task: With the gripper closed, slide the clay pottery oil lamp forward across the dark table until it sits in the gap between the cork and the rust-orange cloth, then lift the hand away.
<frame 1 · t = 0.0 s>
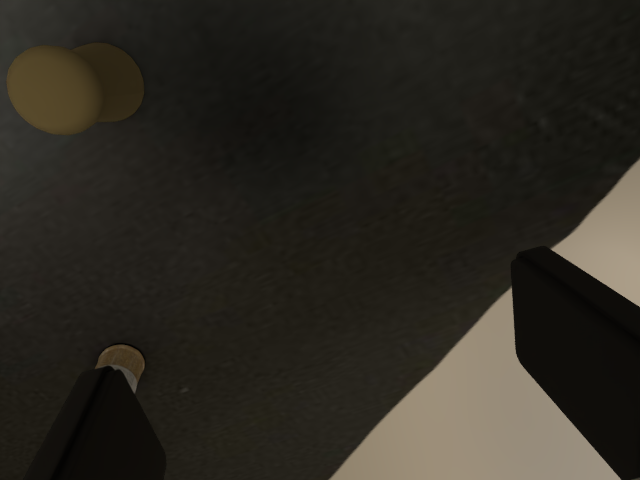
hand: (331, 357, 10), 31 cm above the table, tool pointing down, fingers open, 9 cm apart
sprinkles bottle: (123, 359, 46), on the table
cork: (105, 83, 36), on the table
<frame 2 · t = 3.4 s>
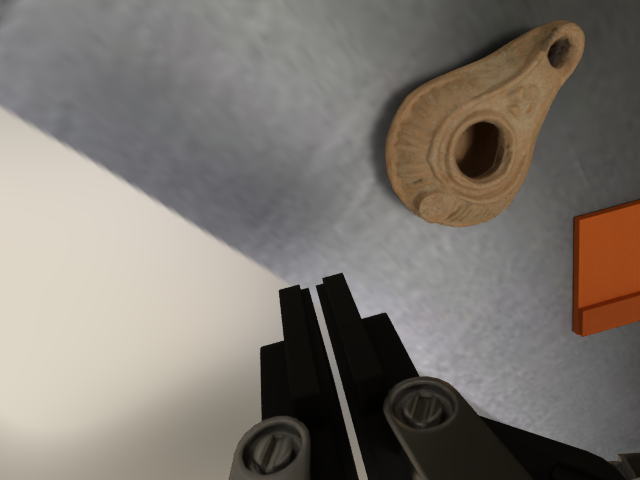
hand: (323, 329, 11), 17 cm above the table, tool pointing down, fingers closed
pottery oil lamp: (467, 121, 28), on the table
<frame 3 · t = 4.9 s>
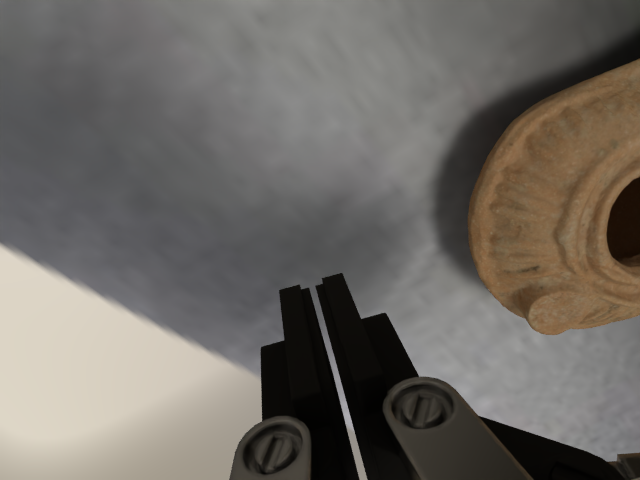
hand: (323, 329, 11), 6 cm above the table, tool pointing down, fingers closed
pottery oil lamp: (586, 155, 17), on the table
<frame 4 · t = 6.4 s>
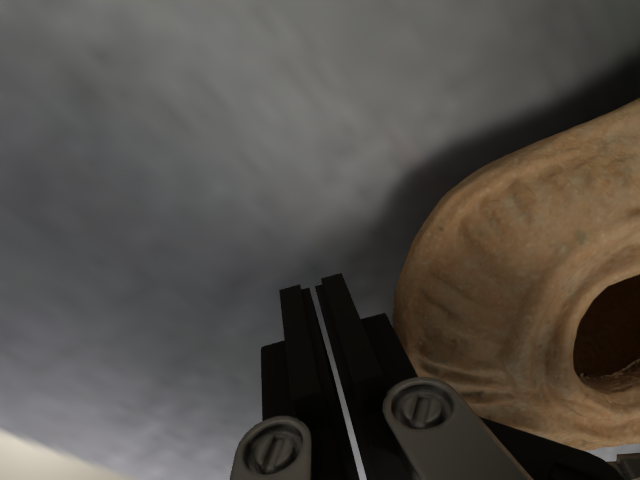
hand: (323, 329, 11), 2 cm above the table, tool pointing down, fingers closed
pottery oil lamp: (558, 217, 14), on the table, touching gripper
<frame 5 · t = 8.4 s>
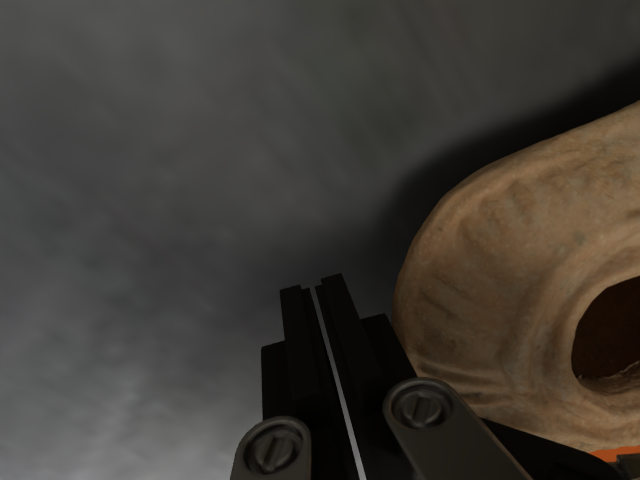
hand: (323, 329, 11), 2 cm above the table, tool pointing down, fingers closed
pottery oil lamp: (558, 220, 14), on the table, touching gripper
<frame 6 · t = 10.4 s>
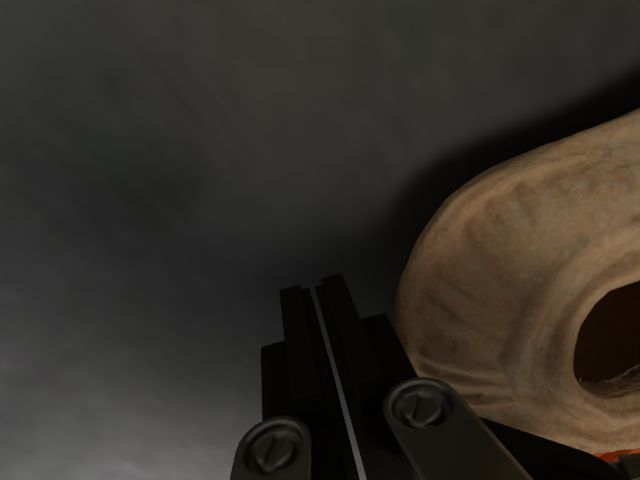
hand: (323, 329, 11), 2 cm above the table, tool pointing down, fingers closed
pottery oil lamp: (559, 223, 14), on the table, touching gripper
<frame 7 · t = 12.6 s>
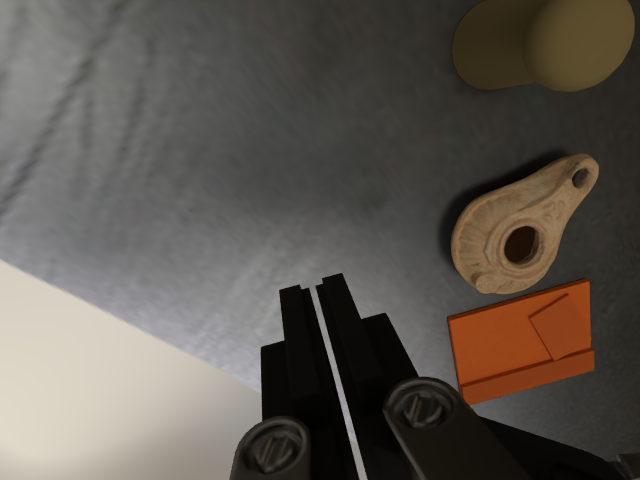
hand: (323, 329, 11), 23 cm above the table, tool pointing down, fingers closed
rust cloth: (520, 342, 42), on the table
cork: (491, 45, 32), on the table
pottery oil lamp: (509, 213, 37), on the table
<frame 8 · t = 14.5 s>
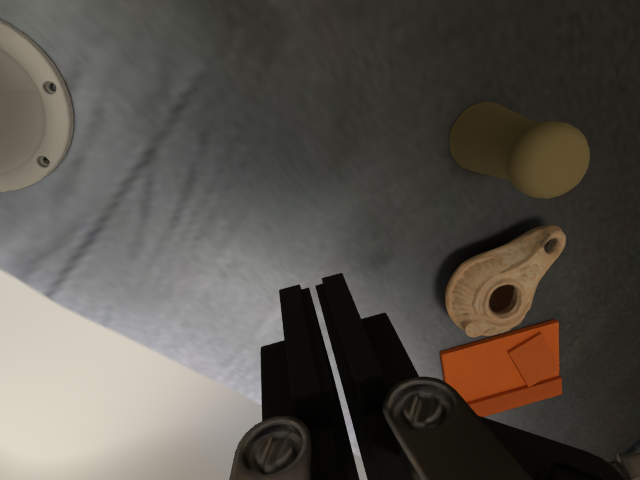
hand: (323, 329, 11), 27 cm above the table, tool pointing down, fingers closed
rust cloth: (500, 371, 49), on the table
cork: (481, 137, 39), on the table
pottery oil lamp: (493, 267, 44), on the table
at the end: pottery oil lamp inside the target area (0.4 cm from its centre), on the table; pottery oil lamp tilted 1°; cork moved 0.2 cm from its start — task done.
